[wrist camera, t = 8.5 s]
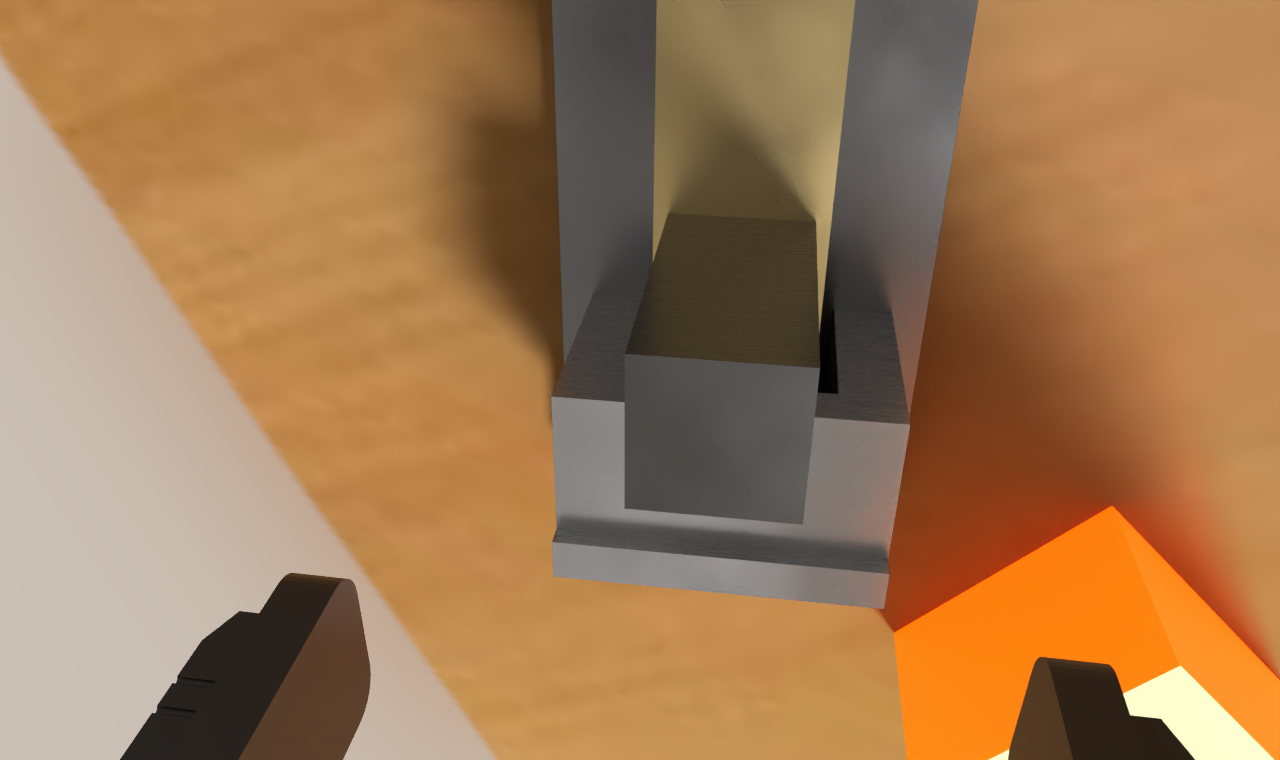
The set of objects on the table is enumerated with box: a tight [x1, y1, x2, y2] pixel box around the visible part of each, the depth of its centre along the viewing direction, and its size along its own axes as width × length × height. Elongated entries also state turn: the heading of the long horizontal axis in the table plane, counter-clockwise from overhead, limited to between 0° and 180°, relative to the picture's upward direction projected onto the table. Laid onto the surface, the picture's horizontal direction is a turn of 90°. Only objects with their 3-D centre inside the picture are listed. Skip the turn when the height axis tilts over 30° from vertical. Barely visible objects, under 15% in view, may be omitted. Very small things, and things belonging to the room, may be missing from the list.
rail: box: [551, 0, 978, 609], centre depth 20 cm, size 25×9×6 cm, turn 179°
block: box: [624, 0, 855, 525], centre depth 19 cm, size 16×4×9 cm, turn 179°
